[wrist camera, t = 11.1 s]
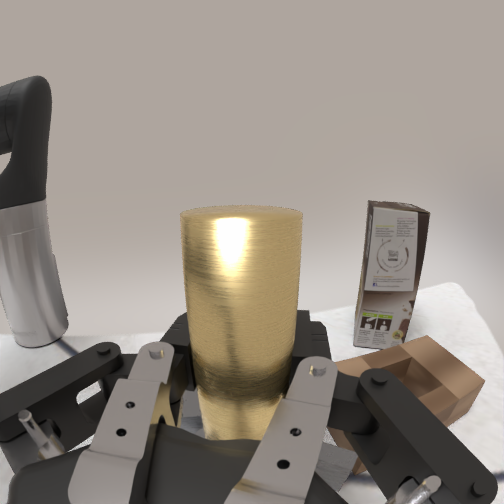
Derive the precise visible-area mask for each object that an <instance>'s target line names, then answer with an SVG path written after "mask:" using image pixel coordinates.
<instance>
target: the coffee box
mask: <svg viewBox="0 0 504 504" xmlns="http://www.w3.org/2000/svg"><path fill="white" fill-rule="evenodd" d="M429 217H430V212H428V211H425V210H424V209H421V208H419V207H417V206H414V205H412V204H405V203H397V202H377V201H368V208H367V221H366V233H365V244H364V255H363V262H362V271H361V278H360V286H359V293H358V300H357V305H356V311H355V327H354V342H353V345H354V346H361V347H370V348H379V349H387V348H390V347H393V346H396V345H400V344H403V343H404V340H405V337H406V333H407V330H408V326H409V323H410V319H411V315H412V312H413V307H414V303H415V299H416V295H417V290H418V285H419V280H420V276H421V270H422V265H423V260H424V253H425V247H426V241H427V233H428V225H429Z"/></svg>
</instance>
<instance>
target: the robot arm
mask: <svg viewBox="0 0 504 504" xmlns="http://www.w3.org/2000/svg"><path fill="white" fill-rule="evenodd" d="M51 111H52V97H51V89H50V86H49V83H48V82H47V80H46V79H45V78H43V77H41V76H33V77H28V78H25V79H22V80H19V81H16V82H13V83H10V84H7V85H4V86H1V87H0V155H2V154H6V153H9V152H12V153H11V158H10V161H9V163H8V165H7V167H6V168H5V169H4V171H3V172H2V174H0V296H1V300H2V304H3V307H4V310H5V313H6V316H7V319H8V322H9V325H10V328H11V331H12V333H13V336H14V339H15V341H16V342H17V343H18V344H19V345H21V346H25V347H38V346H43V345H46V344H49V343H51V342H53V341H55V340H57V339H58V338H60V337H61V336H62V335H63V334H64V333H65V332H66V330H67V328H68V320H67V316H68V313H67V310H66V306H65V302H64V298H63V294H62V290H61V285H60V280H59V275H58V270H57V265H56V260H55V256H54V254H53V253H52V247H51V240H50V233H49V225H48V217H47V205H46V179H47V156H48V141H49V131H50V121H51ZM97 381H98V383H99V385H100V388H101V391H100V392H98V393H96V394H95V395H93V396H92V397H90V398H88V399H87V400H85V401H84V402H82V403H80V404H79V405H78V403H77V401H76V397H77V394H78V393H79V392H80V391H81V390H83V389H85V388H87V387H88V386H90V385H92V384H93V383H95V382H97ZM195 389H196V380H195V374H194V367H193V359H192V352H191V344H190V335H189V326H188V317H187V312H186V313H184V314H183V315H181V316H179V317H178V318H177V319H176V320H175V322H174V324H172V326H171V327H170V329H169V330H168V331H167V332H166V333H165V335H164V336H163V337H162V339H161V340H160V341H159V342H152V343H148V344H146V345H144V346H143V347H142V348H141V349H140V350H139V353H138V354H122V353H121V350H120V347H119V346H118V345H117V344H115V343H112V342H102V343H99V344H96V345H94V346H92V347H90V348H88V349H86V350H84V351H83V352H81V353H79V354H77V355H75V356H73V357H71V358H69V359H67V360H65V361H63V362H61V363H60V364H58V365H56V366H54V367H52V368H50V369H48V370H46V371H44V372H42V373H40V374H38V375H36V376H34V377H32V378H31V379H29V380H27V381H25V382H23V383H21V384H19V385H17V386H15V387H13V388H11V389H9V390H7V391H5V392H3V393H1V394H0V447H1V449H2V451H3V453H4V455H5V457H6V459H7V460H8V462H9V464H10V466H11V468H12V470H13V471H14V473H15V475H14V476H13V478H12V480H11V482H10V485H9V493H8V502H7V504H348V503H347V502H346V501H345V500H344V499H343V498H342V497H341V496H340V495H338V494H337V493H336V492H335V491H334V490H333V489H332V488H331V487H330V486H329V485H328V484H327V483H326V482H325V481H324V480H323V479H322V478H321V477H320V476H319V475H318V474H317V473H316V472H315V471H314V470H315V467H316V464H317V460H318V457H319V453H320V450H321V446H322V442H323V438H324V434H325V430H326V427H329V428H334V429H338V430H342V431H343V433H344V435H345V437H346V438H347V440H348V441H349V443H350V444H351V446H352V447H353V449H354V451H355V452H356V454H357V455H358V457H359V458H360V460H361V461H362V463H363V464H364V466H365V467H366V469H367V470H368V472H369V473H370V475H371V476H372V478H373V479H374V481H375V482H376V484H377V485H378V487H379V488H380V490H381V491H382V493H383V494H384V496H385V497H386V499H387V500H388V501H387V502H386V503H385V504H491V503H492V502H493V500H494V499H495V497H496V494H497V491H498V484H497V480H496V478H495V477H494V476H493V474H492V473H491V472H490V471H489V470H488V469H487V468H486V467H485V466H484V465H483V464H482V463H481V462H480V461H479V460H478V459H477V458H476V457H475V456H474V455H473V454H472V453H471V452H470V451H469V450H468V449H467V447H466V446H465V445H464V444H463V443H462V442H461V441H460V440H459V439H458V438H457V437H456V436H455V435H454V434H453V433H452V432H451V431H450V430H449V429H448V428H447V427H446V426H445V425H444V424H443V423H442V422H441V421H440V420H439V419H438V418H437V417H436V416H435V415H434V414H433V413H432V412H431V411H430V410H429V409H428V408H427V407H426V406H425V405H424V404H423V403H422V402H421V401H420V400H419V399H418V398H417V397H416V396H415V395H414V394H413V393H412V392H411V391H410V390H409V389H408V388H407V387H406V386H405V385H404V384H403V383H402V382H401V381H400V380H399V379H398V378H397V377H396V376H395V375H394V374H393V373H391V372H390V371H388V370H385V369H381V368H371V369H368V370H365V371H364V372H363V373H362V374H361V375H360V377H356V376H351V375H347V374H344V373H342V372H340V371H338V368H337V365H336V364H335V363H334V362H333V361H332V359H331V353H330V348H329V342H328V336H327V331H326V327H325V326H324V325H323V324H322V323H321V322H318V321H310V314H309V311H308V310H297V317H296V329H295V340H294V347H293V350H292V360H291V369H290V378H289V387H288V393H287V395H286V397H285V398H281V400H280V401H279V404H278V406H277V408H276V410H275V412H274V415H273V417H272V419H271V421H270V423H269V425H268V427H267V430H266V432H265V434H264V436H263V438H262V440H253V439H233V440H208V439H205V438H202V437H200V436H198V435H195V434H193V433H191V432H188V431H186V430H184V429H182V428H180V426H181V418H182V411H183V403H184V400H183V394H184V392H185V390H187V391H193V392H194V391H195ZM93 434H95V435H94V438H93V440H92V443H91V444H89V445H87V446H84V447H81V448H78V449H76V450H73V451H70V452H68V451H69V450H71V449H72V448H74V447H75V446H77V445H79V444H80V443H82V442H83V441H85V440H86V439H88V438H89V437H90V436H92V435H93ZM66 452H67V453H66Z"/></svg>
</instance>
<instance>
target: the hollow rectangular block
mask: <svg viewBox="0 0 504 504" xmlns="http://www.w3.org/2000/svg"><path fill="white" fill-rule="evenodd" d="M334 363H335V364H336V365H337V368H338V371H340V372H342V373H344V374H347V375H351V376H356V377H360V375H361V374H362V373H363V372H364V371H365V370H368V369H371V368H381V369H385V370H388V371H390V372H391V373H393V374H394V375H395V376H396V377H397V378H398V379H399V380H400V381H401V382H402V383H403V384H404V385H405V386H406V387H407V388H408V389H409V390H410V391H411V392H412V393H413V394H414V395H415V396H416V397H417V398H418V399H419V400H420V401H421V402H422V403H423V404H424V405H425V406H426V407H427V408H428V409H429V410H430V411H431V412H432V413H433V414H434V415H435V416H436V417H437V418H438V419H439V420H440V421H441V422H442V423H443V424H444V425H445V426H446V427H448V426H449V425H451V424H452V423H453V422H455V421H456V420H458V419H459V418H461V417H462V416H463V415H465V414H466V413H467V412H468V410H469V409H470V407H471V406H472V404H473V402H474V401H475V399H476V397H477V395H478V394H479V392H480V390H481V388H482V386H483V384H484V383H485V380H484V379H482V378H481V377H480V376H479V375H478V374H476V373H475V372H474V371H473V370H471V369H470V368H469V367H468V366H466V365H465V364H464V363H462V362H461V361H460V360H459V359H457V358H456V357H455V356H454V355H452V354H451V353H450V352H448V351H447V350H446V349H445V348H443V347H442V346H441V345H439V344H438V343H437V342H435V341H434V340H433V339H432V338H430V337H429V336H428V335H426V336H423V337H420V338H418V339H415V340H412V341H409V342H406V343H403V344H400V345H396V346H393V347H390V348H387V349H383V350H380V351H377V352H373V353H369V354H366V355H362V356H358V357H354V358H351V359H347V360H343V361H338V362H334ZM327 428H328V430H329V432H330V434H331V435H332V437H333V439H334V441H335V442H336V444H337V446H338V447H340V448H344V449H347V450H351V451H354V449H353V447H352V446H351V444H350V443H349V441H348V440H347V438H346V437H345V435H344V433H343V431H342V430H338V429H334V428H329V427H327ZM354 452H355V451H354ZM366 470H367V469H366V467H365V466H364V464H363V463H362V461H361V460H360V458H359V457H358V458H357V460H356V462H355V464H354V467H353V469H352V471H353V473H354V475H356V474H359V473H361V472H364V471H366Z"/></svg>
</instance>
